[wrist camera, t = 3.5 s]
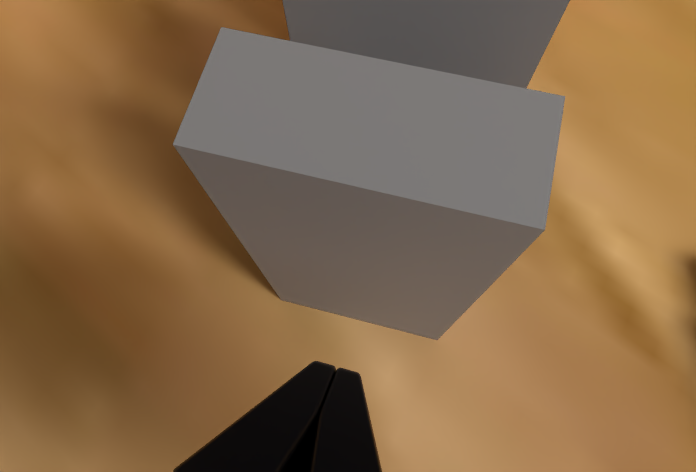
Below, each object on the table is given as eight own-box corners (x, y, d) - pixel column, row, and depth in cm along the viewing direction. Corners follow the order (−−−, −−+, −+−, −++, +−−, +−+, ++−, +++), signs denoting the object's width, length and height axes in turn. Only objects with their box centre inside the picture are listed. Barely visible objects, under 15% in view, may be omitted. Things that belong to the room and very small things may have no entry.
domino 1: (462, 215, 17) (583, -27, 8) (317, 181, 18) (266, -83, 8) (473, 162, 18) (597, -121, 8) (332, 131, 18) (301, -169, 9)
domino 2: (437, 340, 16) (544, 230, 7) (281, 299, 17) (172, 144, 7) (449, 278, 17) (564, 96, 7) (298, 241, 17) (221, 27, 8)
